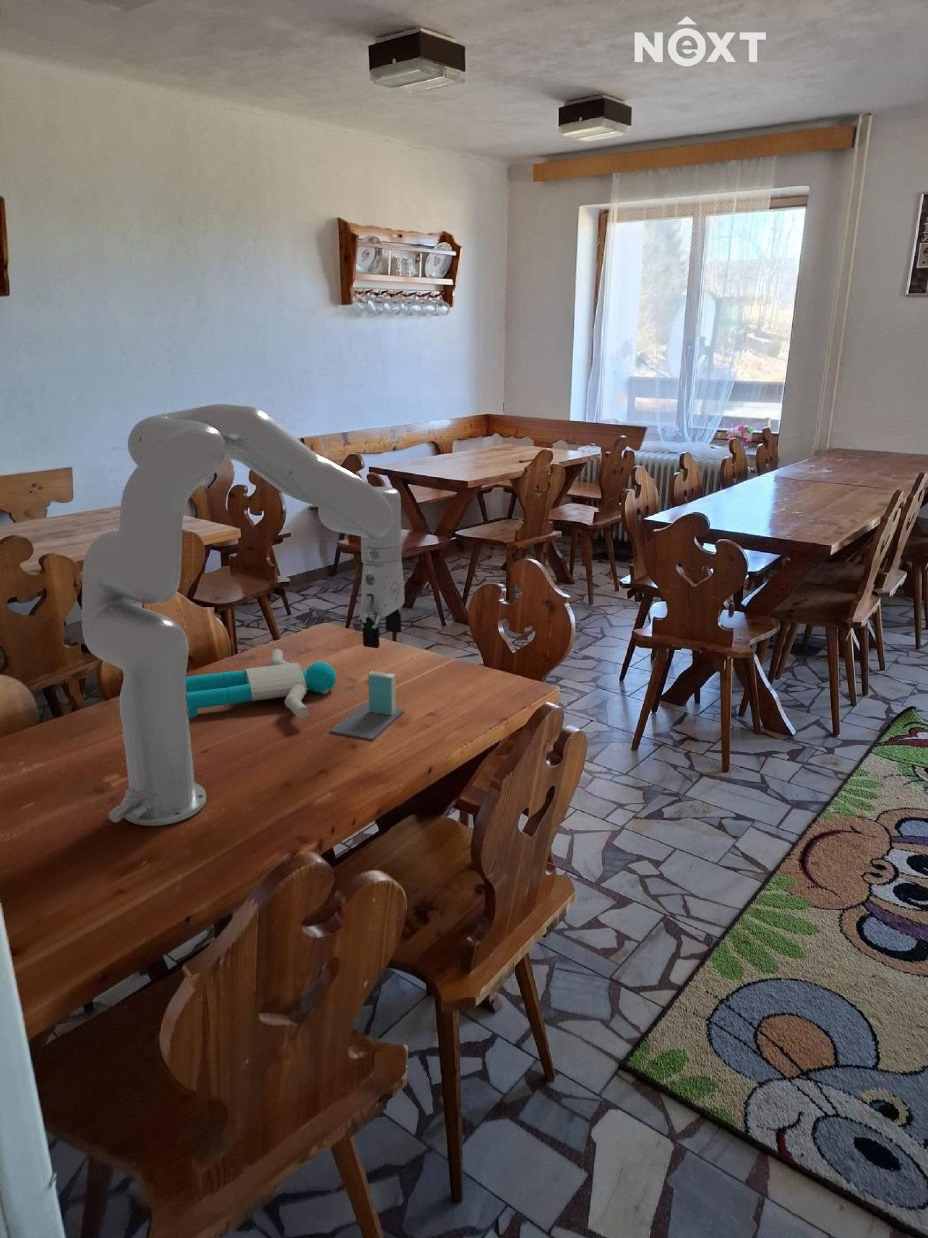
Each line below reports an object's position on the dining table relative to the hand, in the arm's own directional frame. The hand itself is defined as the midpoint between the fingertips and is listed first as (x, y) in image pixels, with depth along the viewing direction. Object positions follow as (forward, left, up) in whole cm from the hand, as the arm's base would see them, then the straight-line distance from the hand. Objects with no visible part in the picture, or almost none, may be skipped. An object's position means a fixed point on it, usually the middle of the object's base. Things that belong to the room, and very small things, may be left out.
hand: (382, 639), depth 165 cm
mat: (-7, 0, -15) cm, 16 cm away
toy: (-4, +25, -15) cm, 30 cm away
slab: (-3, -1, -14) cm, 15 cm away
